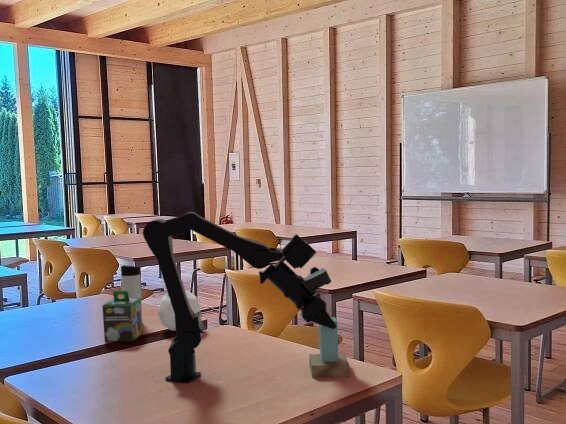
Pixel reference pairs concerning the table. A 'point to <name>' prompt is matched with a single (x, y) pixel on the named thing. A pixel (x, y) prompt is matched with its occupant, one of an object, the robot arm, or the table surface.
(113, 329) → the chalk box
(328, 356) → the pillar brick
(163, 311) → the geodesic sphere
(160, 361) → the table surface
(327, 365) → the base brick
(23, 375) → the table surface
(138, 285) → the travel mug
